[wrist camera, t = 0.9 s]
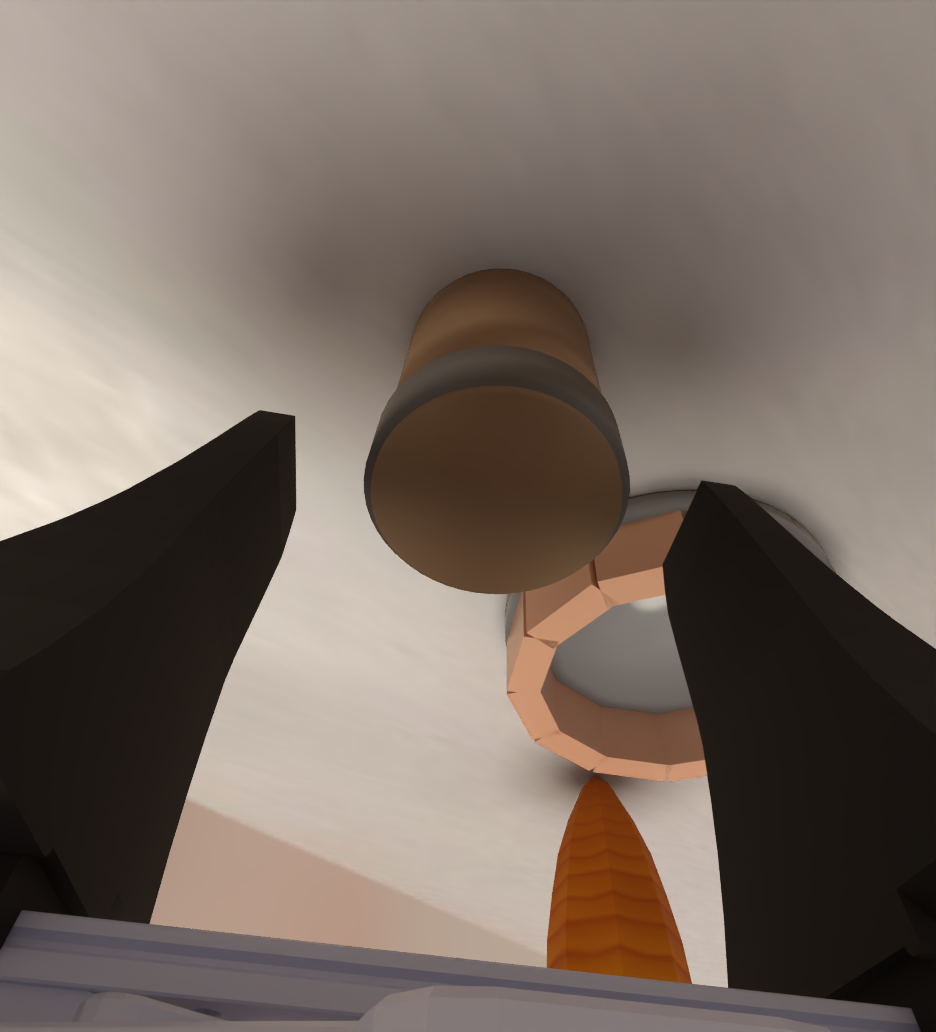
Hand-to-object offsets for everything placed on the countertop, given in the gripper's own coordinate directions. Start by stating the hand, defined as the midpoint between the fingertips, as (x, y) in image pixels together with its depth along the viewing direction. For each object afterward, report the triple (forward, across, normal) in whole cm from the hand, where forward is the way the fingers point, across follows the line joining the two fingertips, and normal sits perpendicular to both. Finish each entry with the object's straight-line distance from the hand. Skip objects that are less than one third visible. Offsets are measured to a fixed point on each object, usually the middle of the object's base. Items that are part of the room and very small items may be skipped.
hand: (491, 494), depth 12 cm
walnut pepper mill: (+6, 0, 0) cm, 6 cm away
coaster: (+6, -7, +8) cm, 12 cm away
